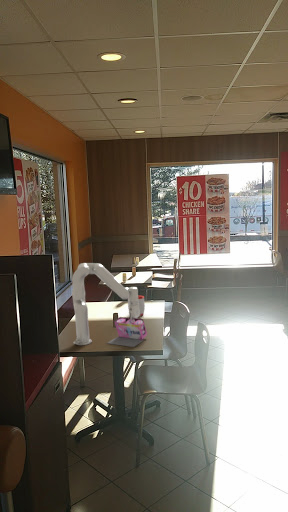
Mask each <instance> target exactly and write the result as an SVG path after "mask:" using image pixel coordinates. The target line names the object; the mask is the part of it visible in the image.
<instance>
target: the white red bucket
mask: <svg viewBox="0 0 288 512" xmlns="http://www.w3.org/2000/svg"><path fill="white" fill-rule="evenodd" d="M138 304H139V308H140V316H139V317H142V316H143V315H144V314H145V307H146V306H145V305H146V304H145V296H144V295H139V294H138ZM127 306H128V310H129V299H127Z"/></svg>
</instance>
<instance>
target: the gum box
mask: <svg viewBox="0 0 288 512" xmlns="http://www.w3.org/2000/svg"><path fill="white" fill-rule="evenodd" d="M114 325H115V328H116V331H117V334H118V337H124V338H132V339H139V340H144V338H146V336H147V335H148V332H147V331H148V330H147V328H146V325H145V321H144V319H143V318H137V319H136V318H135V319H134V318H133V319H132V320H130V318H129V317H124V316H123V317H122V316H119V317H118V318H117V319H116V320H115V321H114Z"/></svg>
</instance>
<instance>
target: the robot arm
mask: <svg viewBox="0 0 288 512" xmlns="http://www.w3.org/2000/svg"><path fill="white" fill-rule="evenodd" d="M88 275H96V276H97V277H98V278H99V279H100V281H102V282H103V284H105V285H106V286H107V287H108V288H110V289H111V290H112V291H113V292H114V293H115V294H116V295H118V297H120V299H121V300H128V299H129V309H128V318H130V320H132V319H133V318H134V319H135V318H136V319H139V317H141V316H140V308H139V304H138V295H139V289H138V287H137V286H130V287H125V286H123V284H121V282H120V281H118V279H117V278H116V277H115V276H114V275H113V274H112V273H111V272H110V271H109V270H108V269H107V268H105V266H104V265H102V264H101V263H97V262H96V263H95V262H83V263H82V262H81V263H79V264H78V266H77V269H76V270H75V272H73V274H72V278H71V279H72V290H71V295H72V304H73V309H74V321H75V333H76V338H75V340H74V341H73V344H75V345H77V346H86V345H90V344H91V343H92V342H93V341H92V339H91V338H90V327H89V310H88V305H87V303H86V289H85V278H86V277H87V276H88Z"/></svg>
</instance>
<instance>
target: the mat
mask: <svg viewBox="0 0 288 512" xmlns="http://www.w3.org/2000/svg"><path fill="white" fill-rule="evenodd" d="M144 341H145V340H144V339H143V340H142V339H133V338H126V337H119V336H117V337H115V338H113V339H111V340H110V341H108V342H107V344H109V345H117V346H123V347H125V346H126V347H131V348H135V347H137V346H138V345H139V344H141V343H143V342H144Z"/></svg>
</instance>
